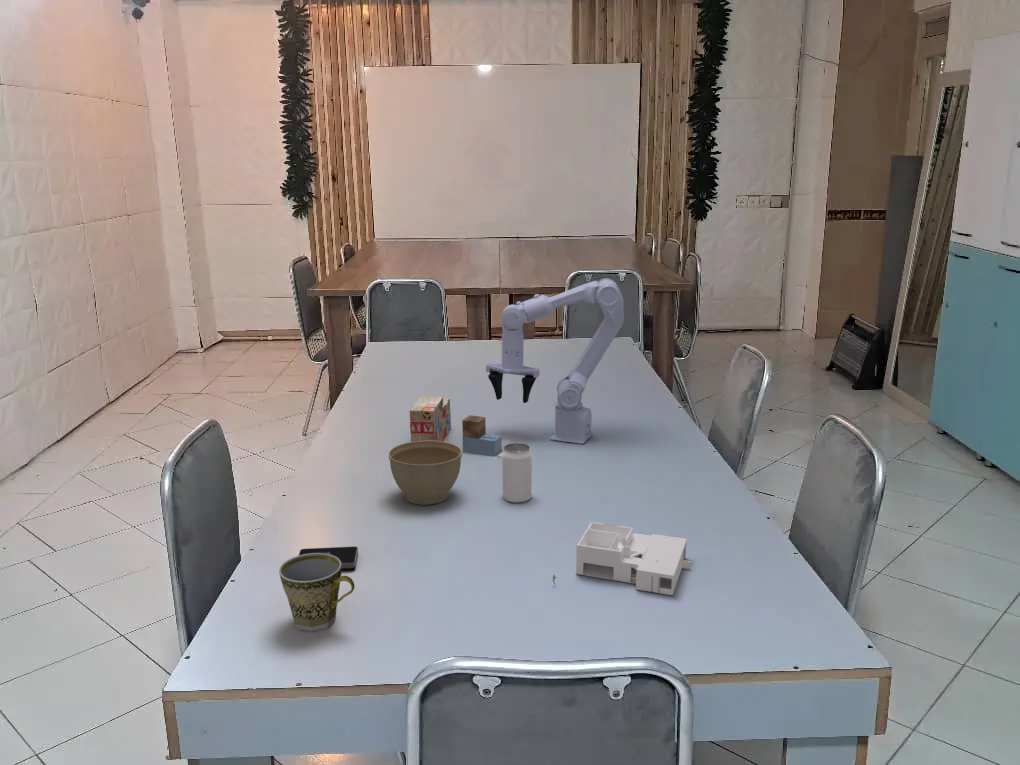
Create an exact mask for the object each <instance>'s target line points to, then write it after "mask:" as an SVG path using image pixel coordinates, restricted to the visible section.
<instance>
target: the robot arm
mask: <svg viewBox="0 0 1020 765" xmlns="http://www.w3.org/2000/svg"><path fill="white" fill-rule="evenodd" d="M595 300H596V302H597V304H598V306H599V307H600V308H601V310H602V311H601V312H602V314H603V320H602V321H601V323H600V324H599V327H598V328H597V330H596V331H595V333H594V334H593V336H592V338H591V339H590V341H589V343H588V344H587V346H586V347H585V349H584V350H583V352H582V354H581V356H580V358H579V359H578V361H577V362H576V364H575V365H574V367H573V368H572V369H571V370H570V371H569V372H568V374H567V375H566V376H565V377H564V378H562V379H560V381H559V382H558V384H557V387H556V391H557V398H556V399H557V401H556V403H554V404H555V412H554V414H555V416H554V417H555V418H554V419H555V420H554V421H555V422H554V423H555V424H554V425H555V426H554V434H553V435H552V436H550V438H549V440H550V441H558V442H565V443H573V444H580V445H584V444H585V443H586V442H587V441H589V439H590V437H592V435H593V433H592V416H593V415H592V410H591V408H589V407H587V406H586V407H585V406H583V403H582V397H583V393H584V391H585V390H586V387H587V384H588V381H589V379H590V378H591V376H592V374H593V372H594V371H595V370H596V368H597V366H598V365H599V363H600V362H601V360H602V359H603V357H604V355H605V353H606V352H607V351H608V349H609V347H610V345H611V343H612V342H613V341H614V339H615V338H616V336H617V334H618V333H619V331H620V329H621V328H622V326H623V325H624V322H625V318H624V317H625V314H624V313H625V312H624V310H625V309H624V307H625V306H624V300H625V299H624V297H623V294H622V292H621V289H620V288H619V286H618V284H617V283H616V281H614V280H613V279H611V278H606V277H605V278H601V279H600V280H594V281H590V282H587V283H584V284H582V285H578V286H576V287H573V288H571V289H569V290H566V291H563V292H561V293H558V294H556V295H554V296H553V295H552V296H550V297H549V296H547V295H544V294H542V295H539V293H537V294H534V295H533V297H532V298H529V299H527V300H524V301H520V300H519V301H516V303H515V304H509V305H507V306H506V307H505V308H503V310H502V314H501V323H502V327H501V328H502V329H501V331H502V333H501V363H488V364H486V365H485V372H486V373H489V374H488V375H487V378H488V380H489V381H490V383H491V386H492V388H493V391H494V394H495V398H496V400H497V401H499V400H500V399H502V397H503V379H504V378H503V377H504V374H508V375H515V376H523V377H522V378H521V383H522V403H523V404H526V403H528V402H529V398H530V394H531V390H532V389H533V385H534V383H535V382H536V379H537V378H538V377H540V368H534V367H531V366H526V365H524V331H523V330H524V328H523V325H524V324H530V323H533V322H536V321H539V320H542V319H544V318H547V317H550V316H551V315H552V313H553V311H554V310H556V309H560V308H562V307H565V306H570V305H573V304H576V303H579V302H583V301H584V302H587V303H590V304H595Z"/></svg>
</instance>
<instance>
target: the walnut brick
mask: <svg viewBox="0 0 1020 765" xmlns="http://www.w3.org/2000/svg"><path fill="white" fill-rule="evenodd" d="M461 424H462V426H461V427H462V428H461V429H462V438H463V437H467V438H475V439H479V438H481V437H482V436H483V435H484V434H487V433H486V432H487V431H486V430H487V428H486V424H487V423H486V417H485V416H478V415H470V414H469V415H468V416H466V417H464V419H462V423H461Z"/></svg>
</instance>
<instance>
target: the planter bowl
mask: <svg viewBox="0 0 1020 765" xmlns="http://www.w3.org/2000/svg"><path fill="white" fill-rule="evenodd" d="M462 456H463V449H461V447H459V445H456V444H454V443H451V442H447V441H443V442H442V441H430V440H429V441H415V442H411V441H409V442H408V441H407V442H404V443H401V444H398V445H396V446H394V447H392V448H391V449H390V450H389V451H388V459H389V462H390V463H389V464H390V471H391V474H392V477H393V479H394V482H395V483H396V485H397V487H398V488H399V490H400V491H401V492H402V493H403V495H404V498H405V500H406V501H407V502H409V503H411V504H414V505H421V506H423V505H425V506H426V505H428V506H429V505H434V504H439V503H441V502H444V501H446V499H447V498H448V496H449V492H450V491H451V489H452V488H453V486H454V485H455V483H456V481H457V479H458V476H459V474H460V470H461V461H462Z"/></svg>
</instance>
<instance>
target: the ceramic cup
mask: <svg viewBox="0 0 1020 765" xmlns="http://www.w3.org/2000/svg"><path fill="white" fill-rule="evenodd" d="M298 555H299V554H298ZM298 555H296V556H294V557H291V558H289V559H288V560H285V561H284V562H283V563H282V564H281V566H280V567H279V570H278V574H279V578H280V581H281V585H282V587H283V590H284V593H285V595H286V597H287V601H288V604H289V608H290V611H291V616H292V620H293V622H294V625H295V627H296V629H297V630H301V631H306V632H308V633H309V632H310V633H312V632H317V631H321V630H326V629H328V628H330V627H331V626H332V625H333V624H334V622H336V618H337V616H336V615H337V608H338V604H339V603H340V602H341V601H342V600H344V598H346V597H347V596H349V595H351V594H352V593H353V592H354V590H355V588H356V587H355V582H354V580H353V579H352V578H351V577H350V576H348V575H342V572H343V571H342V562H341V560H340V559H339V558H337V557H336V556H333V555H331V554H326V553H309V554H303V555H299V556H298ZM341 582H347V583H349V584H350V587H351V589H350V590H349V591H348V592H346V593H344V594H343V595H341V596H340V598H339V593H340V592H339V591H340V587H341Z"/></svg>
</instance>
